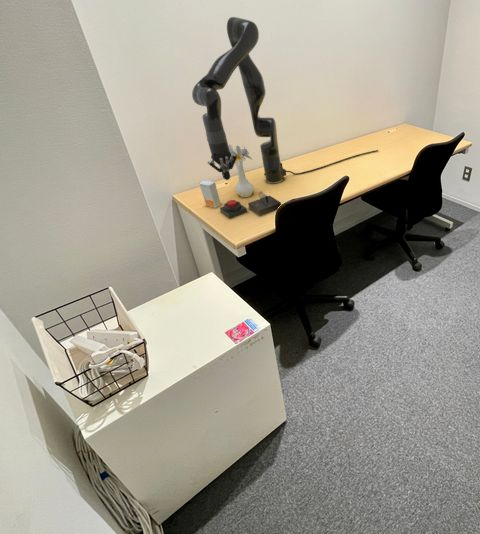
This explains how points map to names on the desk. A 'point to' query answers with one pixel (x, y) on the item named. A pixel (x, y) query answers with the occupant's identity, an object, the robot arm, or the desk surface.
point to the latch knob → (263, 198)
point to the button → (231, 203)
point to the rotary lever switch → (264, 206)
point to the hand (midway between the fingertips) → (227, 179)
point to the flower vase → (241, 172)
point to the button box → (233, 210)
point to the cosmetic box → (210, 193)
